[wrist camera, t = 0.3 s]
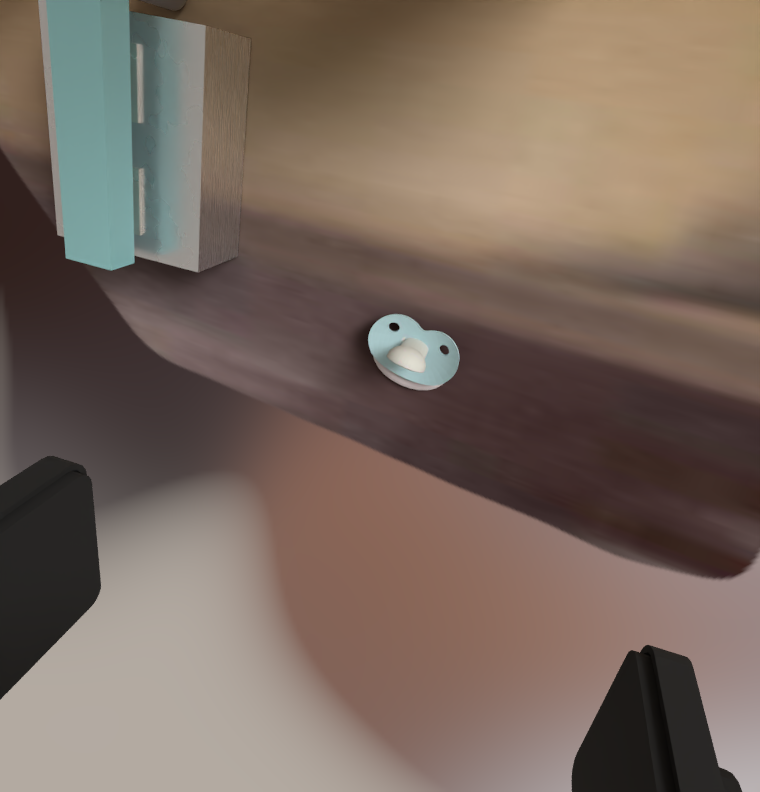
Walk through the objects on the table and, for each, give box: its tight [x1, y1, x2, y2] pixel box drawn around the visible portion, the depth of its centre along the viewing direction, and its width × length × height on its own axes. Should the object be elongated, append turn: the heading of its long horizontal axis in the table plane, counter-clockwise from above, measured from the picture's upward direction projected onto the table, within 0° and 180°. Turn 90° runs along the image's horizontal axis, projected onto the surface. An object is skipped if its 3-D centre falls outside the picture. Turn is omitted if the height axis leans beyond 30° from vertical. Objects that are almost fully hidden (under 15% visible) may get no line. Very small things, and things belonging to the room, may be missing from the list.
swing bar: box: [46, 0, 187, 271], centre depth 39 cm, size 19×4×11 cm, turn 170°
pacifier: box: [368, 314, 459, 390], centre depth 44 cm, size 7×6×6 cm
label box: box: [38, 0, 251, 272], centre depth 42 cm, size 16×12×6 cm
